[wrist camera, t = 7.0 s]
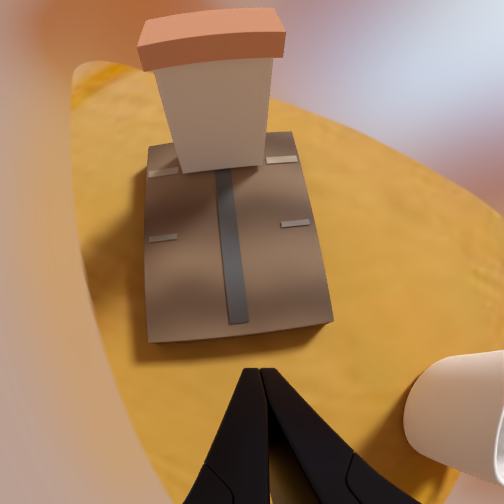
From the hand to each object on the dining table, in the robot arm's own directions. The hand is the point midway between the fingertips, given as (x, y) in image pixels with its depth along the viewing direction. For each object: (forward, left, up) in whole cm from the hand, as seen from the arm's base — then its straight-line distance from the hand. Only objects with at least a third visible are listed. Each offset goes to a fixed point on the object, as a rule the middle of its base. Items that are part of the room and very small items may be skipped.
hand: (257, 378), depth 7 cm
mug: (-4, -17, -13) cm, 22 cm away
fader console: (+9, +3, -13) cm, 16 cm away
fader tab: (+14, +4, -10) cm, 18 cm away
